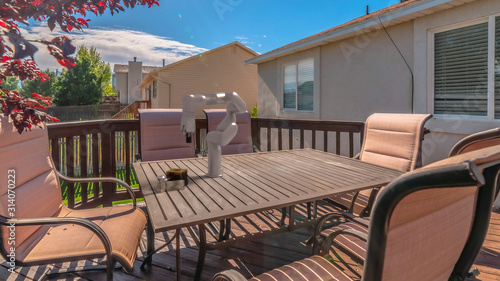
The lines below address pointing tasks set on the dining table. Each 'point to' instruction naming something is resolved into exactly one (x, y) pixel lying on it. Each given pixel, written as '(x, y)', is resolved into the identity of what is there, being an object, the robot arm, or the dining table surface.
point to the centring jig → (170, 186)
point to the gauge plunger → (162, 178)
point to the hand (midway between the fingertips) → (188, 142)
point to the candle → (178, 175)
